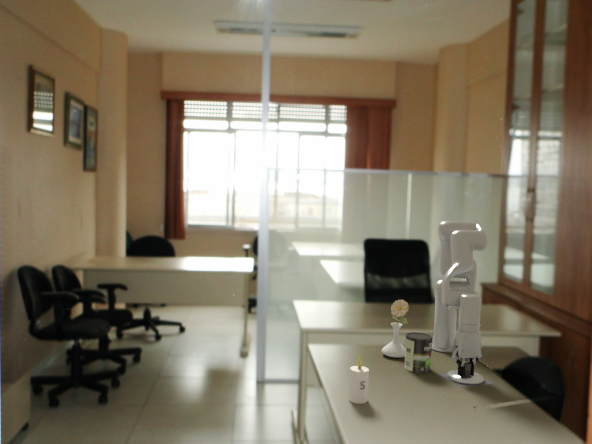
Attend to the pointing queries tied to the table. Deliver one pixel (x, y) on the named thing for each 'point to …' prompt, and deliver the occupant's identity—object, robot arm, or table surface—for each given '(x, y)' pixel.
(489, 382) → the mat
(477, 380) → the lid
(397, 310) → the flower in vase
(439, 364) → the table surface
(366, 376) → the candle
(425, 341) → the coffee can
